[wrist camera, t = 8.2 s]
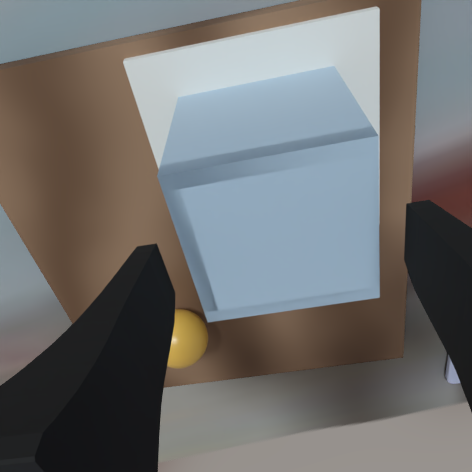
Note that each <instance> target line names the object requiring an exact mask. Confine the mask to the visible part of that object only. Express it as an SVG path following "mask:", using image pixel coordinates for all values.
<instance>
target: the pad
mask: <svg viewBox="0 0 472 472" xmlns="http://www.w3.org/2000/svg"><path fill="white" fill-rule="evenodd" d="M123 64H124V67H125V70H126V73H127V76H128V79H129V82H130V85H131V88H132V91H133V94H134V97H135V100H136V103H137V106H138V109H139V112H140V115H141V118H142V121H143V124H144V127H145V130H146V133H147V136H148V139H149V142H150V145H151V148H152V151H153V154H154V157H155V160H156V163H157V166H158V169H159V167H160V164H161V160H162V156H163V152H164V149H165V145H166V141H167V137H168V134H169V130H170V126H171V122H172V119H173V115H174V111H175V107H176V104H177V100H178V97H182V96H187V95H192V94H197V93H202V92H207V91H212V90H216V89H221V88H226V87H231V86H236V85H241V84H246V83H251V82H256V81H261V80H266V79H271V78H276V77H281V76H286V75H291V74H296V73H301V72H306V71H311V70H316V69H320V68H325V67H330V66H335V68H336V69H337V71H338V72H339V74H340V76H341V77H342V79H343V80H344V82H345V83H346V85H347V87H348V88H349V90H350V91H351V93H352V95H353V96H354V98H355V99H356V101H357V102H358V104H359V106H360V107H361V109H362V110H363V112H364V114H365V115H366V117H367V118H368V120H369V121H370V123H371V125H372V126H373V128H374V129H375V131H376V133H377V134H378V136H379V224H380V9H379V8H378V7H377V6H376V7H371V8H366V9H361V10H356V11H352V12H347V13H342V14H337V15H332V16H328V17H323V18H318V19H313V20H308V21H304V22H299V23H294V24H289V25H284V26H279V27H275V28H270V29H265V30H260V31H255V32H251V33H246V34H241V35H236V36H231V37H227V38H222V39H217V40H212V41H207V42H203V43H198V44H193V45H188V46H183V47H178V48H174V49H169V50H164V51H159V52H154V53H150V54H145V55H140V56H135V57H130V58H126V59H124V61H123Z"/></svg>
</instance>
